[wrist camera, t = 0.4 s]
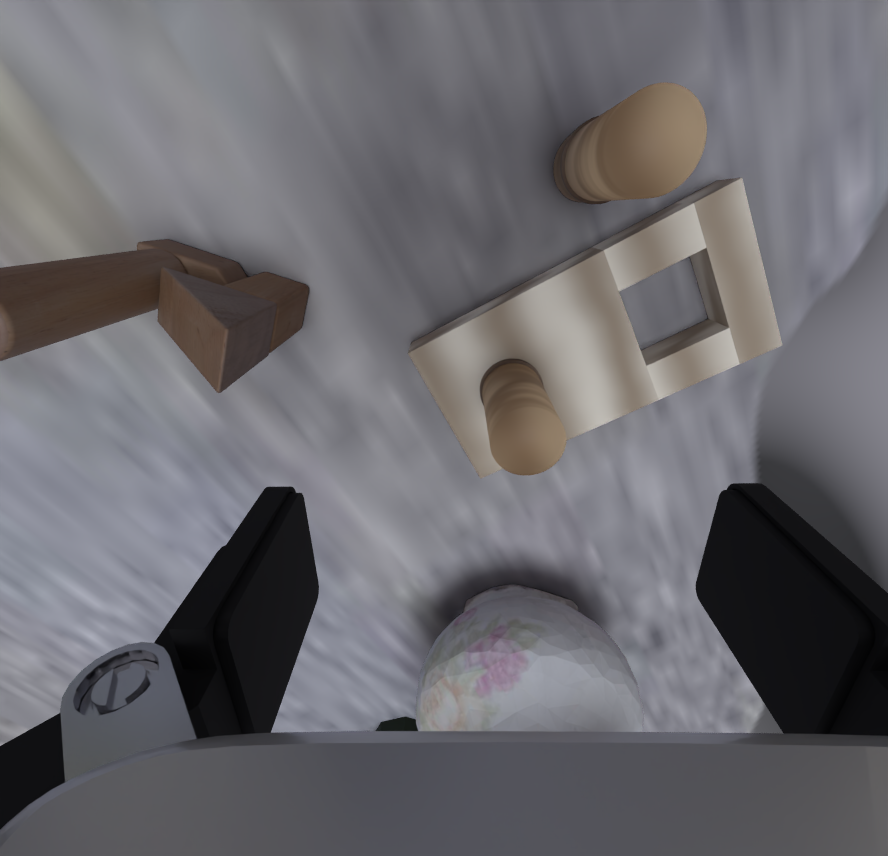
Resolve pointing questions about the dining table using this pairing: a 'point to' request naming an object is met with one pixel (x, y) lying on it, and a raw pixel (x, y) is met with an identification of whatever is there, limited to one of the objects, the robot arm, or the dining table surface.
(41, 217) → the dining table surface
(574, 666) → the ceramic pitcher
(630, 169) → the oak peg
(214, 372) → the brown blocky piece
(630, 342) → the board
